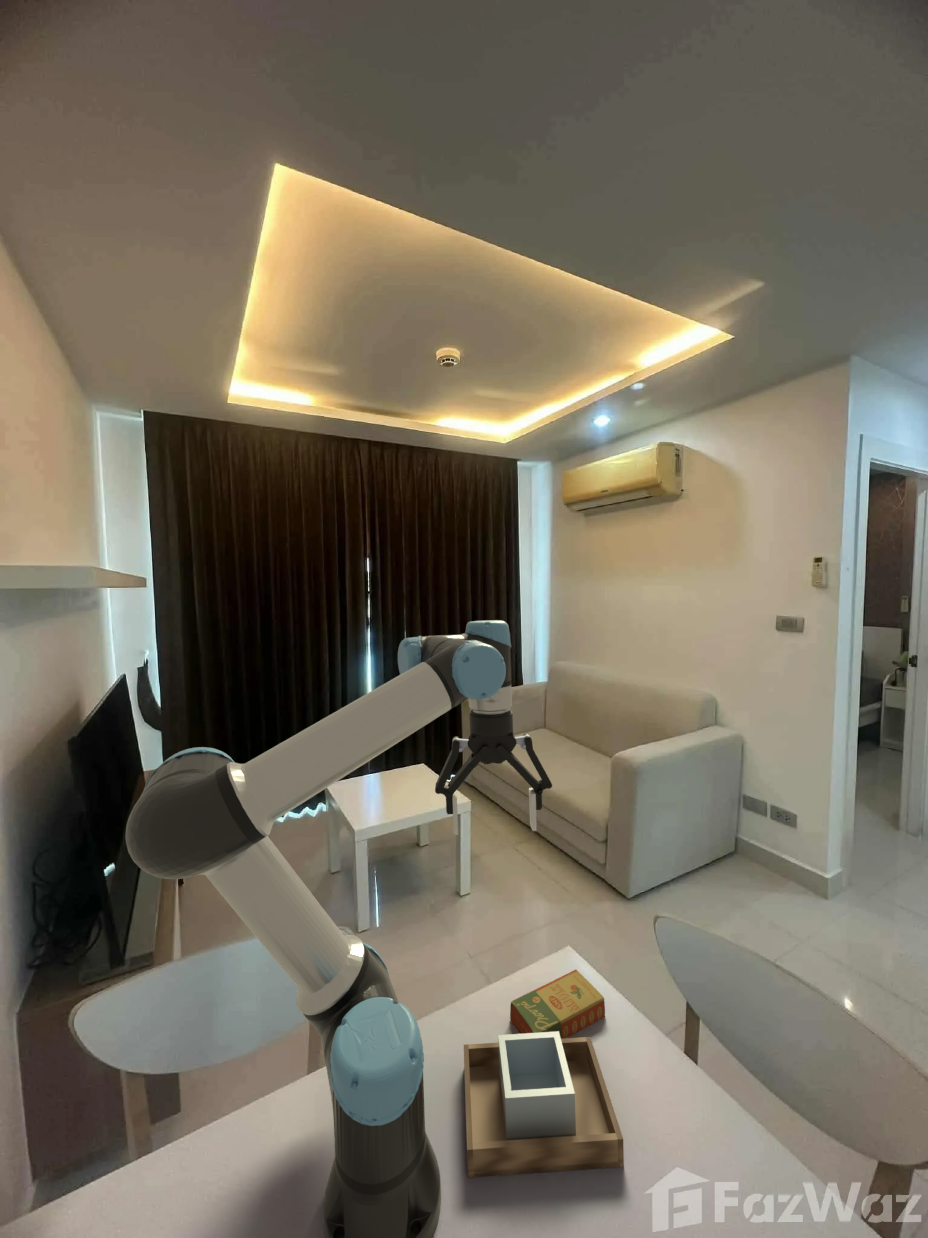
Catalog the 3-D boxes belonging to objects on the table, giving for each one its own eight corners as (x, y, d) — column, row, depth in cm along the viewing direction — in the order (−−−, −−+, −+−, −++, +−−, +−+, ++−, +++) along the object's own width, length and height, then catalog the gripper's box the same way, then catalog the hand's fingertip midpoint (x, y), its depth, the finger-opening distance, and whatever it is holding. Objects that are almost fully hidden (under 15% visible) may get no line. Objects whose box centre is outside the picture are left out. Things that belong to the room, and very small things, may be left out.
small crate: (499, 1076, 79) (498, 1035, 79) (560, 1072, 79) (558, 1031, 79) (507, 1145, 69) (505, 1098, 69) (576, 1140, 69) (574, 1093, 69)
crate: (468, 1178, 66) (466, 1150, 66) (464, 1067, 82) (463, 1044, 81) (623, 1167, 67) (623, 1139, 66) (590, 1059, 82) (590, 1037, 82)
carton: (606, 1019, 90) (605, 997, 90) (535, 1059, 83) (535, 1035, 83) (576, 987, 98) (576, 967, 98) (509, 1021, 91) (509, 999, 90)
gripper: (417, 717, 79) (422, 843, 80) (567, 711, 80) (570, 836, 81) (420, 707, 87) (424, 822, 88) (557, 701, 88) (560, 816, 89)
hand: (494, 829), depth 84 cm, fingers open, 13 cm apart
